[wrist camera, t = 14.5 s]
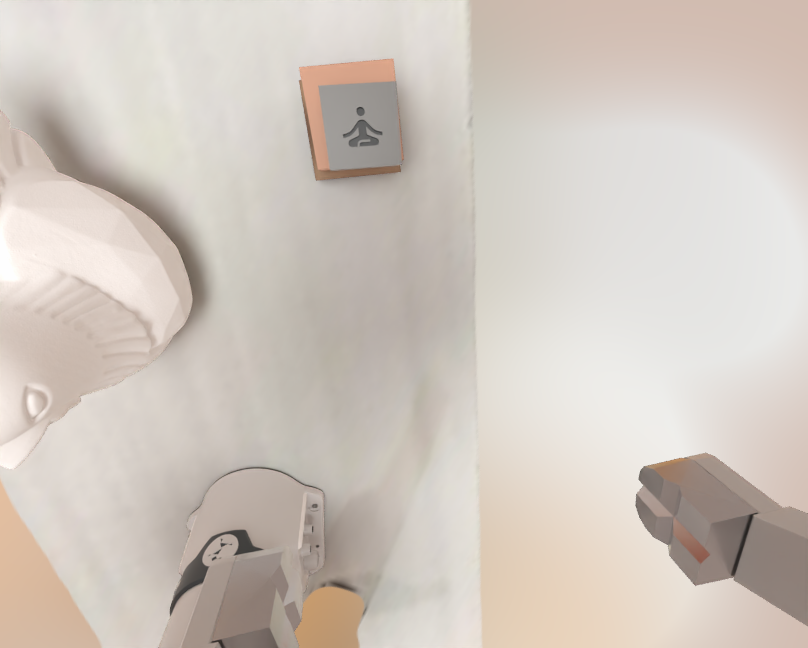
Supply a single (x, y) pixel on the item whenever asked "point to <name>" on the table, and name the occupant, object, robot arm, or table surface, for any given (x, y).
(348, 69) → the terracotta top block
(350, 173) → the walnut base block
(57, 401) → the decorative rooster
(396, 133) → the dice cube
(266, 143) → the table surface
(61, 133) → the table surface
